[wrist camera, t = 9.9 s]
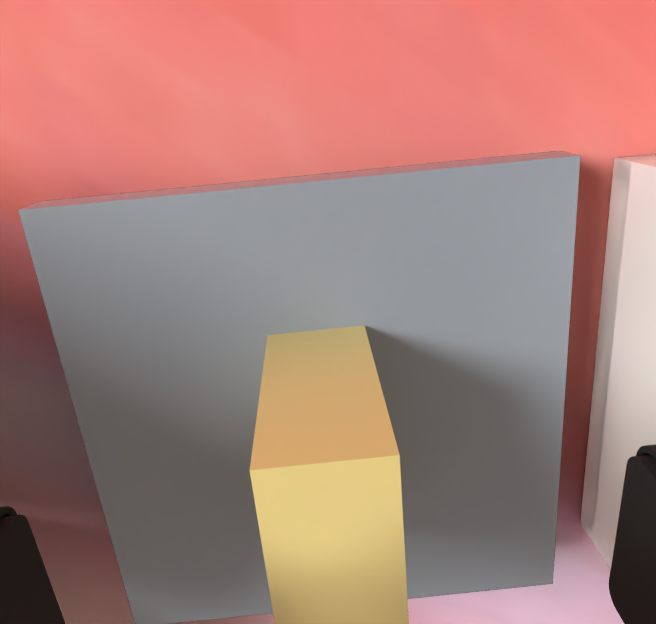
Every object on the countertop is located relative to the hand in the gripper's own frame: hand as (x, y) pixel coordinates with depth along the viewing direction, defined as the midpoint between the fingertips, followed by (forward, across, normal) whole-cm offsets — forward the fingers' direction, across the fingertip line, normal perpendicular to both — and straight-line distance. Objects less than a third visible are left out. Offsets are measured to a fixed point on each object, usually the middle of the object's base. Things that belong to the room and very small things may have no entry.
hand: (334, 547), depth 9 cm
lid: (+6, 0, +1) cm, 6 cm away
